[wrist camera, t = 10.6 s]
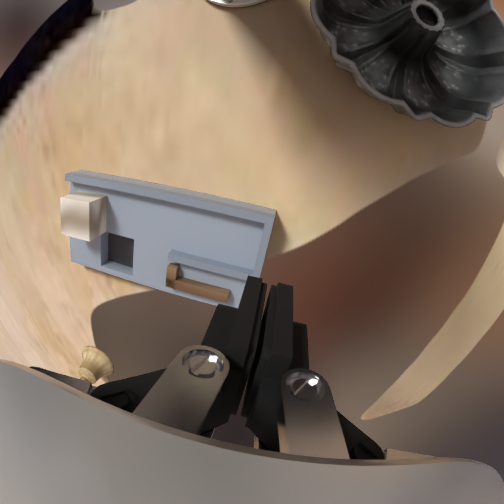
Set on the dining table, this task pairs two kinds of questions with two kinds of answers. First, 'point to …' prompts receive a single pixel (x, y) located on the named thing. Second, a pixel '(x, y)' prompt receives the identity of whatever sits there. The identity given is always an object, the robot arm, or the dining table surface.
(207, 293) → the crook tool
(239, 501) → the robot arm
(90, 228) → the cream block
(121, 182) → the tray
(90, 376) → the hand bell
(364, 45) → the bundt pan
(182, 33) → the dining table surface
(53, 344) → the dining table surface
